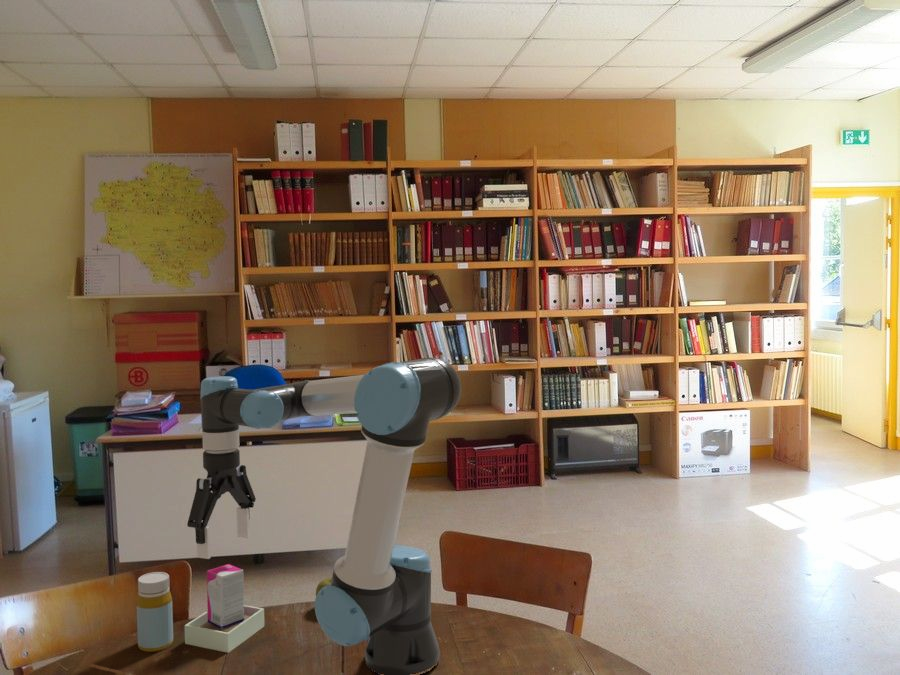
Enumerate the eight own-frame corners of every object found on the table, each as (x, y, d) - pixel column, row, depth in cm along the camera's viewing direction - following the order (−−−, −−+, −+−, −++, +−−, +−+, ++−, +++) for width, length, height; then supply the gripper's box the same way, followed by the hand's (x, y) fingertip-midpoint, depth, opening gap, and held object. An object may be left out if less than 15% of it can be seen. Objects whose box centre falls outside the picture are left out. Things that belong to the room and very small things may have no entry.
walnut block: (250, 629, 173) (249, 616, 173) (227, 645, 166) (227, 631, 166) (223, 624, 176) (223, 611, 175) (200, 639, 168) (200, 626, 168)
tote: (264, 628, 175) (264, 608, 174) (228, 654, 163) (227, 633, 162) (223, 620, 179) (222, 601, 178) (185, 645, 167) (184, 625, 166)
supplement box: (245, 620, 171) (244, 569, 170) (221, 629, 166) (220, 577, 165) (230, 612, 175) (229, 562, 174) (206, 621, 170) (205, 570, 169)
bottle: (161, 655, 162) (159, 585, 161) (131, 652, 164) (128, 582, 163) (179, 640, 169) (177, 572, 168) (150, 637, 171) (148, 570, 169)
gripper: (241, 436, 180) (244, 527, 182) (166, 461, 157) (170, 564, 159) (269, 438, 177) (272, 530, 179) (197, 464, 154) (201, 569, 156)
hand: (224, 547), depth 169 cm, fingers open, 13 cm apart
